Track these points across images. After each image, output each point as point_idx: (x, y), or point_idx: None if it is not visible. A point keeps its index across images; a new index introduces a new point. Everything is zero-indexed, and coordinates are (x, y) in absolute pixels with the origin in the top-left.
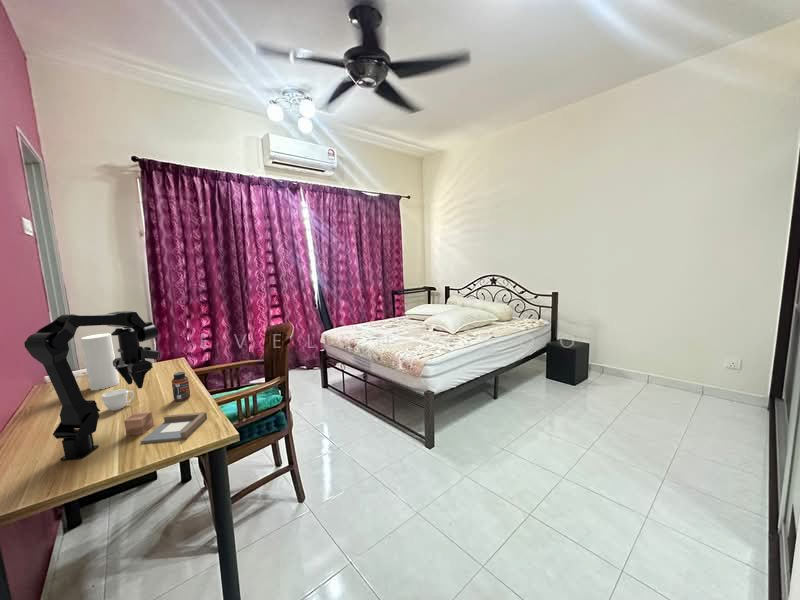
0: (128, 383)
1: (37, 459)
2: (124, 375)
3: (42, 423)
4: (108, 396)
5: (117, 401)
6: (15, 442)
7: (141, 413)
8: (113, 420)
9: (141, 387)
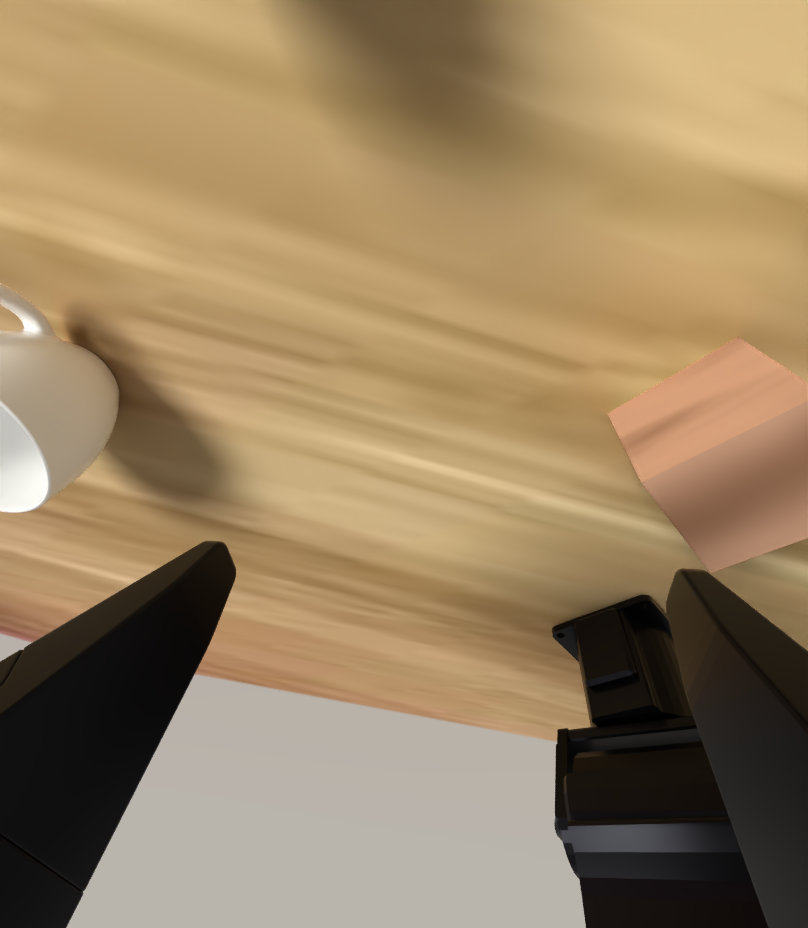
0: (228, 591)
1: (489, 689)
2: (121, 775)
3: (86, 600)
4: (45, 495)
5: (90, 422)
6: (238, 670)
7: (727, 461)
8: (309, 455)
9: (703, 584)
